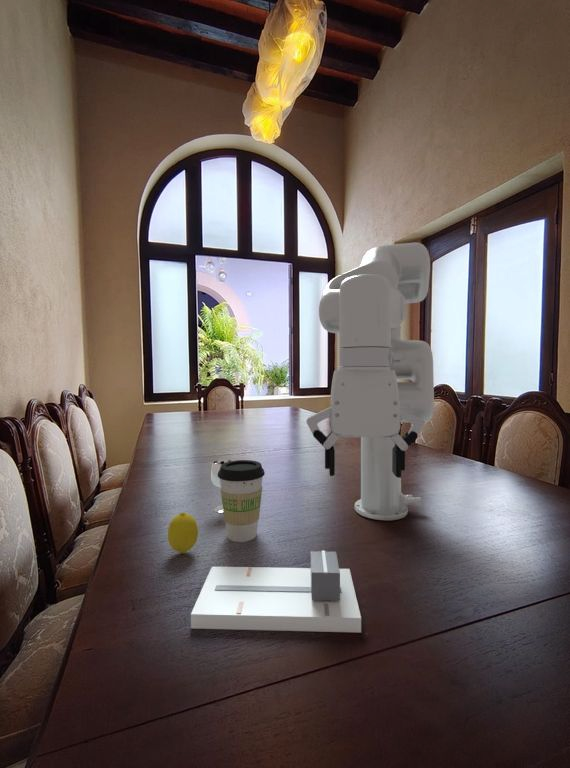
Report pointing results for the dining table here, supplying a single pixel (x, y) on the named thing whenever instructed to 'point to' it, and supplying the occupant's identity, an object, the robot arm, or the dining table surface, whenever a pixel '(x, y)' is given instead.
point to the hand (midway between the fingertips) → (363, 474)
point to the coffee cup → (241, 498)
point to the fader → (325, 576)
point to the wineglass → (217, 479)
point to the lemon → (182, 532)
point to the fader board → (273, 601)
